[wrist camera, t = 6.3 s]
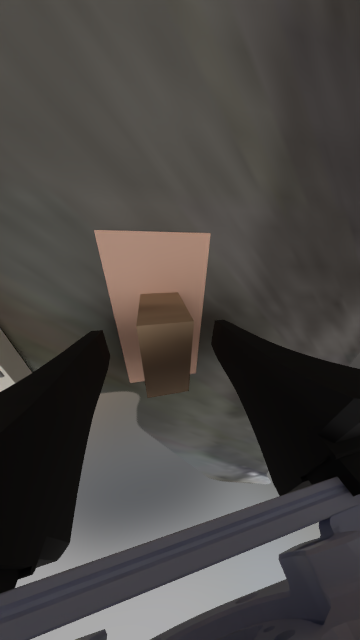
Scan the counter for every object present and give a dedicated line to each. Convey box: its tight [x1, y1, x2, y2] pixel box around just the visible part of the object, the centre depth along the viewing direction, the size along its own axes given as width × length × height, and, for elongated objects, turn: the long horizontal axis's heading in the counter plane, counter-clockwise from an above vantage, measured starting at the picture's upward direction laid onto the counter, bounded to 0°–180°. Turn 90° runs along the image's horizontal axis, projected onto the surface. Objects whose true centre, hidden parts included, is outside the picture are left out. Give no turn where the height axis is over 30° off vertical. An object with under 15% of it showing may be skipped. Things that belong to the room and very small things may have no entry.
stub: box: [94, 230, 210, 398], centre depth 10 cm, size 12×6×6 cm, turn 179°
